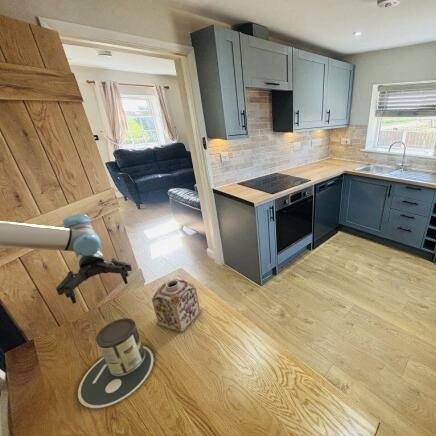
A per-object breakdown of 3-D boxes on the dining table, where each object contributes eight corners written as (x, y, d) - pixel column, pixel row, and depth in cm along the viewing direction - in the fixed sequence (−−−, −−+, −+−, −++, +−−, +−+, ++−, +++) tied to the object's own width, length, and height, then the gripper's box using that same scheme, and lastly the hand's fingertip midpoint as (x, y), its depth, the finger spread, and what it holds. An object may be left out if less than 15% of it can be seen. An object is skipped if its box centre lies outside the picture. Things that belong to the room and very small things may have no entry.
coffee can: (125, 345, 85) (113, 316, 79) (152, 348, 84) (142, 319, 78) (101, 374, 75) (86, 343, 70) (131, 378, 74) (118, 347, 69)
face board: (60, 412, 66) (59, 410, 66) (105, 347, 85) (104, 346, 84) (135, 406, 68) (134, 404, 68) (163, 344, 86) (163, 342, 86)
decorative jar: (181, 333, 91) (173, 297, 83) (157, 325, 94) (147, 289, 86) (201, 311, 101) (195, 277, 94) (179, 304, 104) (171, 271, 97)
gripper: (132, 258, 100) (146, 282, 86) (50, 284, 84) (52, 319, 70) (127, 242, 97) (141, 265, 83) (42, 266, 81) (42, 299, 67)
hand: (100, 289), depth 76 cm, fingers open, 13 cm apart
